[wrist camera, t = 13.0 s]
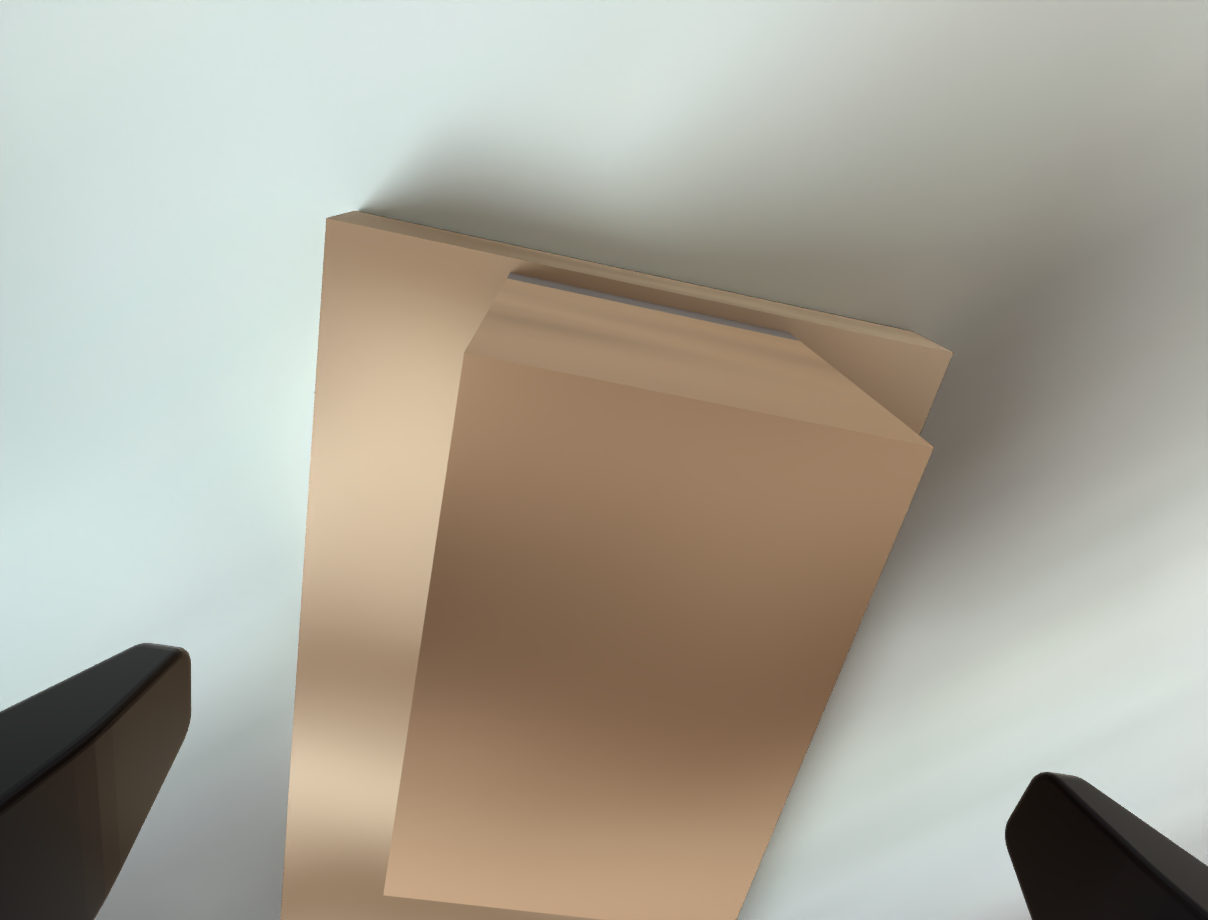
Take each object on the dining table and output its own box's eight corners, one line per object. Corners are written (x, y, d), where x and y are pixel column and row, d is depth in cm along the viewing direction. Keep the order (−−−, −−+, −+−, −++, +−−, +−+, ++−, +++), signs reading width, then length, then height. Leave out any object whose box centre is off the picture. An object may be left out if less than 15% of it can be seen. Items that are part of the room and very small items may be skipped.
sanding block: (678, 680, 14) (730, 934, 9) (448, 645, 14) (382, 895, 9) (789, 332, 12) (934, 446, 7) (510, 272, 11) (463, 352, 6)
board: (670, 965, 20) (677, 1027, 18) (297, 927, 19) (275, 990, 17) (913, 332, 13) (954, 353, 12) (355, 211, 12) (325, 218, 11)
